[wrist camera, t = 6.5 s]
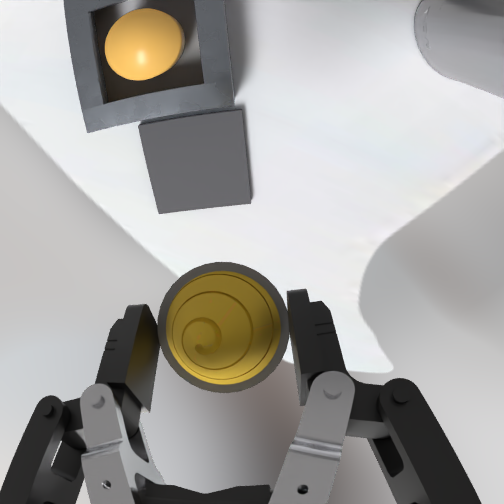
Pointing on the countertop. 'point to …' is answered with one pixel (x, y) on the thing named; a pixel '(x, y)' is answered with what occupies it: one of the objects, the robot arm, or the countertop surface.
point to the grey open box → (155, 103)
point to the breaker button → (144, 44)
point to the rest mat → (197, 161)
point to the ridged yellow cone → (223, 327)
